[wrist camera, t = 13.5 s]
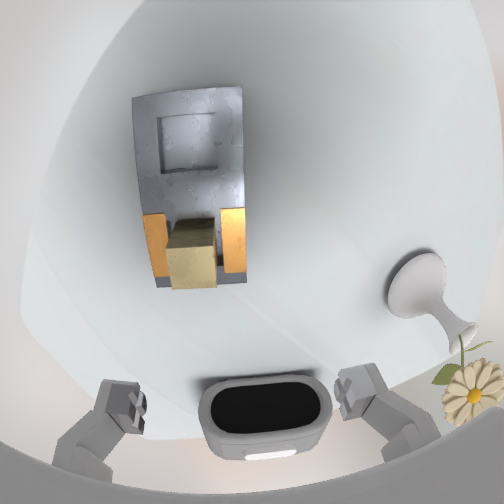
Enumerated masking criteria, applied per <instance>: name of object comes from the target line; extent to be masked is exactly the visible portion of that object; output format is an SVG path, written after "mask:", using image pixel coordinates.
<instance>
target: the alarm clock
mask: <svg viewBox="0 0 504 504" xmlns="http://www.w3.org/2000/svg"><path fill="white" fill-rule="evenodd" d="M226 380H227V381H224V382H218V383H216V384H214V385H212V386H210V387H209V388H208V389H207V390H206V391H205V392H204V393H203V395H202V397H201V399H200V402H199V408H198V415H199V421H200V424H201V427H202V430H203V433H204V435H205V438H206V441H207V443H208V446H209V448H210V449H211V451H212V452H213V453H214V454H215V455H217V456H219V457H221V458H223V459H225V460H259V459H269V458H277V457H285V456H290V455H294V454H298V453H302V452H305V451H309V450H311V449H312V448H313V447H314V446H315V445H317V443H318V442H319V440H320V438H321V436H322V434H323V432H324V430H325V428H326V426H327V424H328V422H329V420H330V418H331V416H332V407H333V405H332V401H331V397H330V395H329V392H328V390H327V389H326V388H325V386H324V385H323V384H322V383H321V382H320V381H318V380H317V379H315V378H313V377H310V376H307V375H295V373H291V374H283V375H274V376H263V377H251V378H236V379H226Z"/></svg>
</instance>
